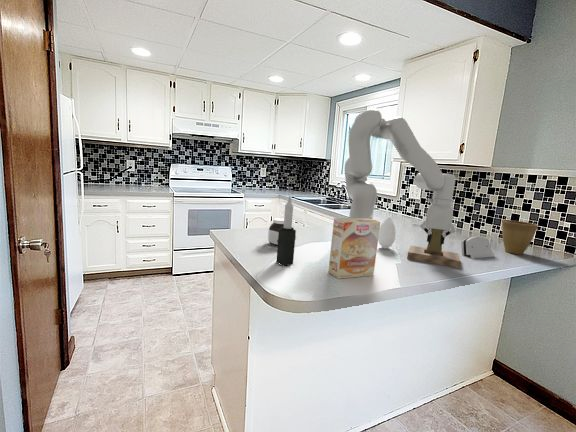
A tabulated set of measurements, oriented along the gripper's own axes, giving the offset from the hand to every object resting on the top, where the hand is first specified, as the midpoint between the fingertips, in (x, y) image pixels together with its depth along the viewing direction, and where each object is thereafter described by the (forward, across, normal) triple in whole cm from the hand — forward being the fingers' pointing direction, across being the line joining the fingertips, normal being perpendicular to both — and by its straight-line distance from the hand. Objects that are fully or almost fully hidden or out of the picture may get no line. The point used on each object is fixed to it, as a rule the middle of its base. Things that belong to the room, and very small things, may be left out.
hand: (434, 244), depth 137 cm
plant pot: (+7, +38, +45) cm, 59 cm away
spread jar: (+7, -63, -22) cm, 67 cm away
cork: (+3, 0, 0) cm, 3 cm away
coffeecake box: (+7, -26, -42) cm, 50 cm away
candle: (+7, -50, -46) cm, 68 cm away
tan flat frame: (+7, 0, 0) cm, 7 cm away
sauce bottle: (+7, -21, +5) cm, 23 cm away
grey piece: (+7, +19, +24) cm, 31 cm away
